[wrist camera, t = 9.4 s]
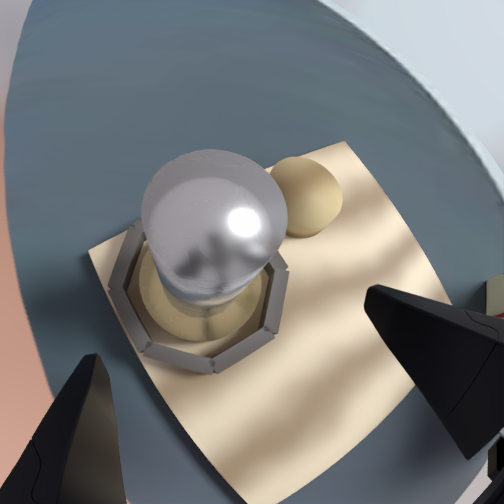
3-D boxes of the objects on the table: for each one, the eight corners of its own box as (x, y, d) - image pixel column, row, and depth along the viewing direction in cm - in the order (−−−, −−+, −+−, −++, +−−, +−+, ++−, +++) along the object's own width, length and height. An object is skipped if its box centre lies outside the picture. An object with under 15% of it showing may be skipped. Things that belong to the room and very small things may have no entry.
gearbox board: (454, 324, 24) (478, 318, 21) (255, 508, 15) (267, 529, 12) (340, 146, 28) (355, 126, 25) (92, 255, 19) (77, 237, 16)
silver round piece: (274, 276, 21) (355, 201, 11) (212, 365, 18) (245, 380, 7) (190, 214, 21) (201, 98, 11) (121, 294, 18) (57, 223, 8)
